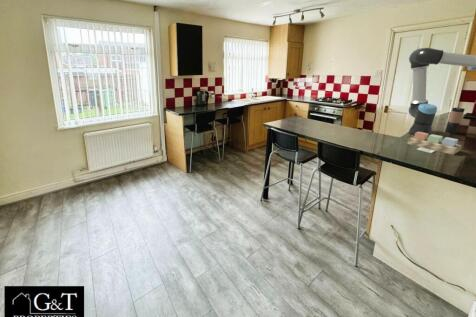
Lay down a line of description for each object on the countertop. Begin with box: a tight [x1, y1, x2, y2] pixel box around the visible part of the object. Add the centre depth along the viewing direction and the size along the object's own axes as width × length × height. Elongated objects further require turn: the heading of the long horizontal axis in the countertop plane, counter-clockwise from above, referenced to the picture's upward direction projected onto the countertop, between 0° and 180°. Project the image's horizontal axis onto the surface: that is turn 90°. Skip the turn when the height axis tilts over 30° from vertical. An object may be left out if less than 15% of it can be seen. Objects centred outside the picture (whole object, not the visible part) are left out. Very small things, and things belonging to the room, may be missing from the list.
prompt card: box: [416, 147, 435, 154], centre depth 159 cm, size 8×6×1 cm
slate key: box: [442, 136, 459, 147], centre depth 158 cm, size 6×6×5 cm
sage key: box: [427, 133, 444, 144], centre depth 164 cm, size 6×6×5 cm
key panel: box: [406, 135, 462, 156], centre depth 165 cm, size 26×12×4 cm, turn 37°
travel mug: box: [444, 107, 466, 134], centre depth 203 cm, size 8×8×20 cm
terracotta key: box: [413, 132, 429, 141], centre depth 170 cm, size 6×6×5 cm
